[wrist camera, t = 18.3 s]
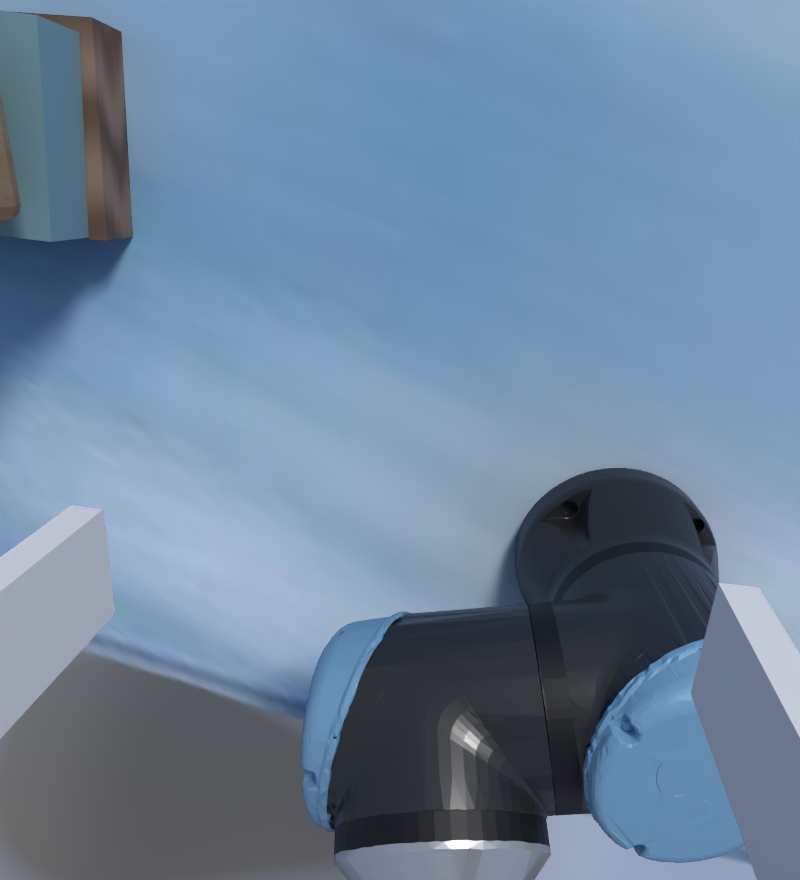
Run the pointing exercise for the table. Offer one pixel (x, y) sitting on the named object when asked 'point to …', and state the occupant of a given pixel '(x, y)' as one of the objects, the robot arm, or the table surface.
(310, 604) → the table surface
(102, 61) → the tower base
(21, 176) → the grey teal block
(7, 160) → the wooden block
